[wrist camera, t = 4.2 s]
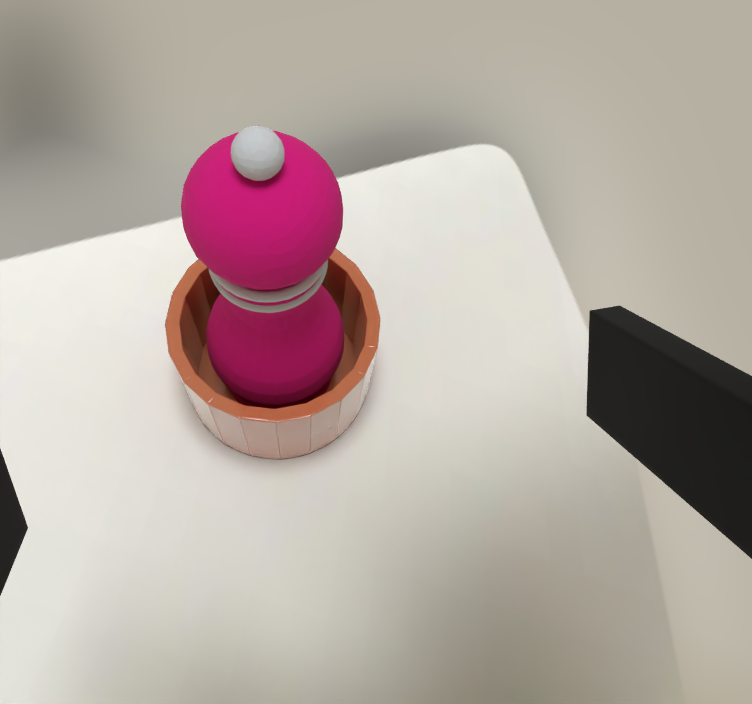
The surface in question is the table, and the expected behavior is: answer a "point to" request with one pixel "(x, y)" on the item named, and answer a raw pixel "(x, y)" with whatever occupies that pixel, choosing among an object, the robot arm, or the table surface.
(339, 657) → the table surface
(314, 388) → the pepper mill
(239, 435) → the crock
